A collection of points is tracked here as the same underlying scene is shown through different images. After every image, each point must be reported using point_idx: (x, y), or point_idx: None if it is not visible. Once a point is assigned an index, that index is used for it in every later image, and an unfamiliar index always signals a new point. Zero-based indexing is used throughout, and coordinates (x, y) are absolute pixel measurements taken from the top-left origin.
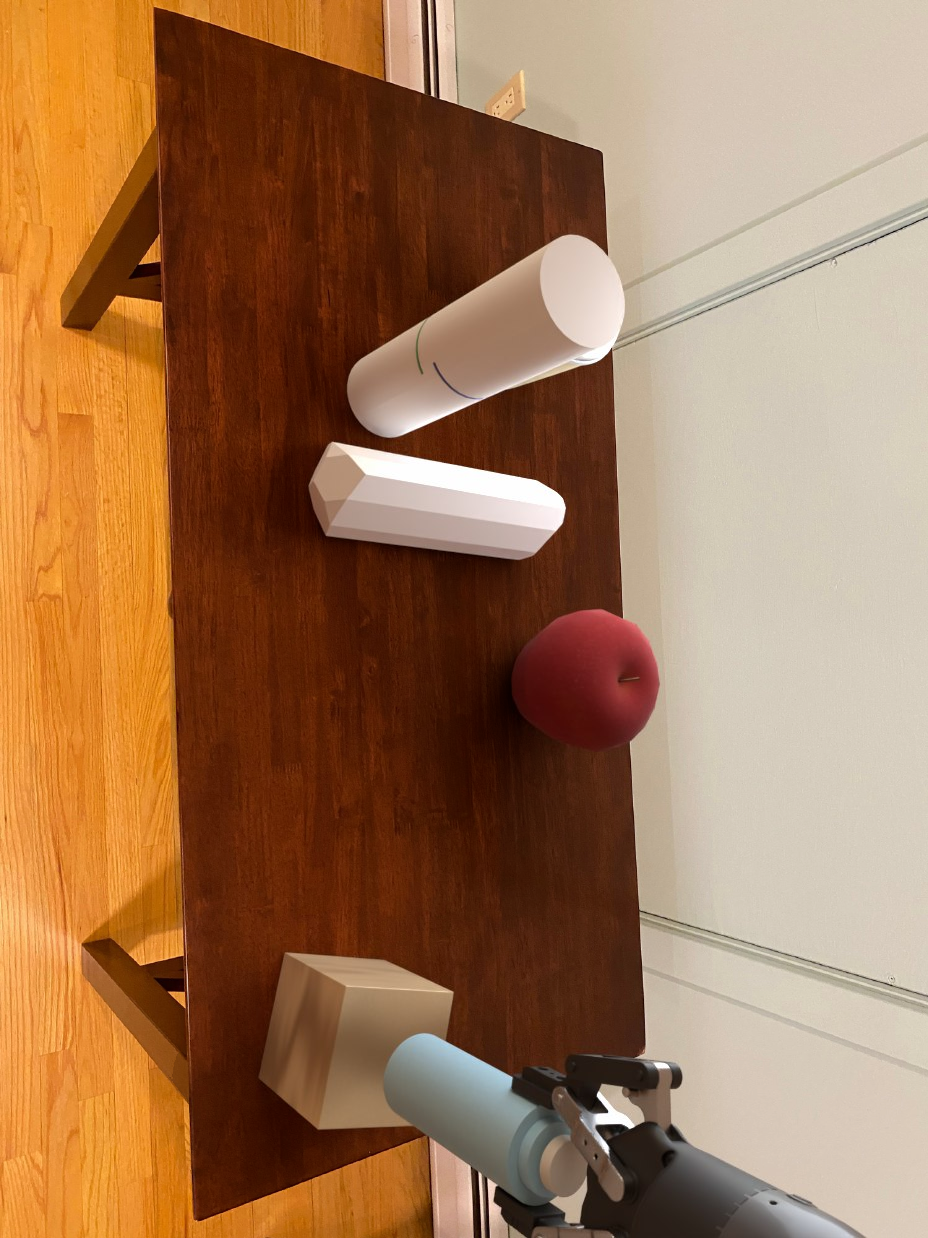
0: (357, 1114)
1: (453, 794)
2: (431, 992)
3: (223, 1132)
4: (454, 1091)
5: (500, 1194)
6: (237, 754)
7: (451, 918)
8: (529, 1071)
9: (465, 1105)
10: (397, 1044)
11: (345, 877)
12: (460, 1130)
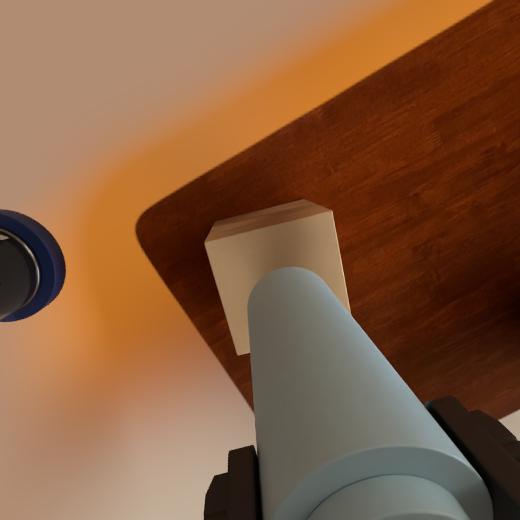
0: (227, 277)
1: (453, 283)
2: (347, 303)
3: (172, 212)
4: (339, 321)
5: (249, 461)
6: (434, 85)
7: (364, 323)
8: (493, 425)
9: (343, 337)
10: None
11: (369, 222)
12: (306, 344)
